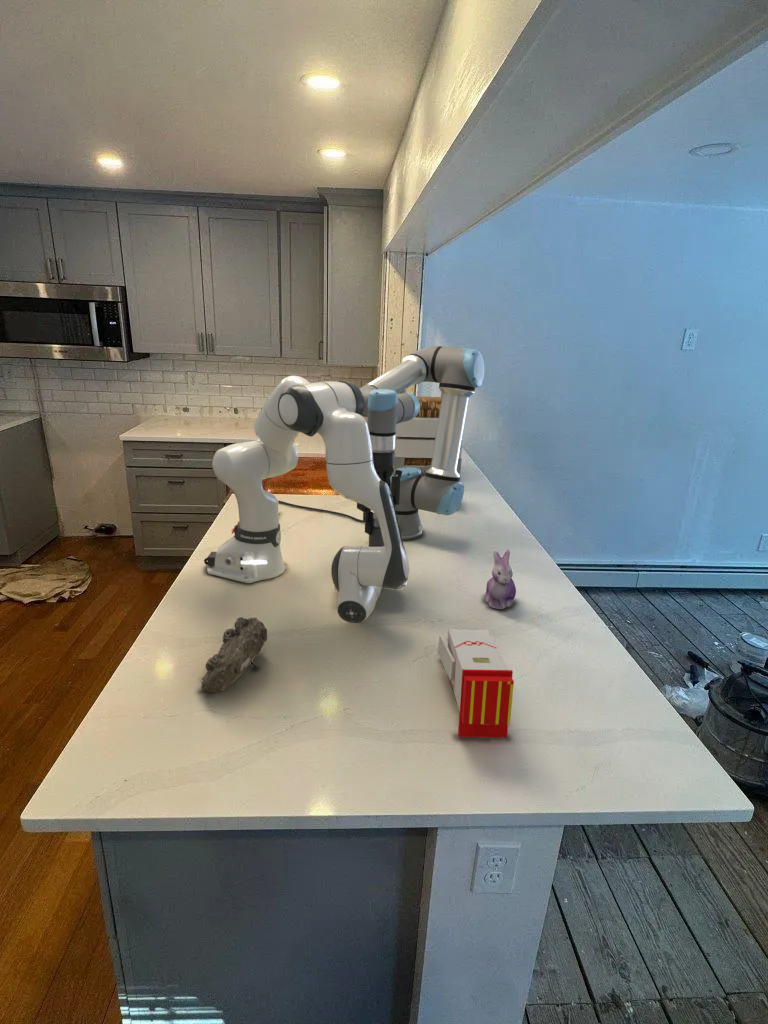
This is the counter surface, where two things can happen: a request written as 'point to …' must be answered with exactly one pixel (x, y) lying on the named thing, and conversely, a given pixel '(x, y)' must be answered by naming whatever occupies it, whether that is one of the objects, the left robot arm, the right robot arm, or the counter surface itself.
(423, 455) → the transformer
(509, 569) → the figurine
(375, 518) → the lid
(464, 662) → the toy
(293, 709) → the counter surface
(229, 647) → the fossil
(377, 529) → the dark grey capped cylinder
